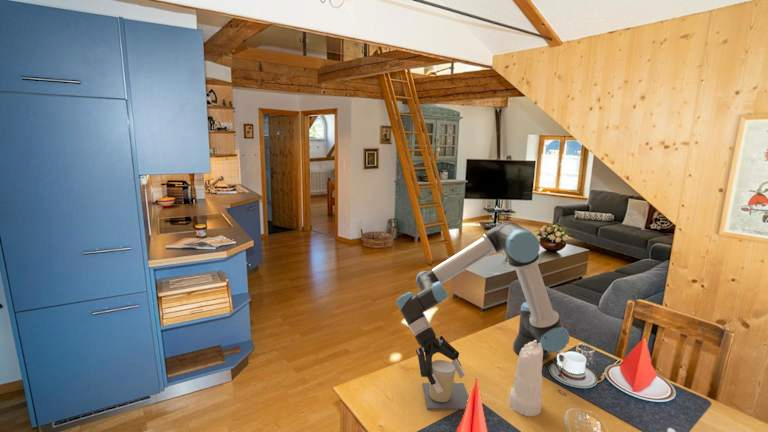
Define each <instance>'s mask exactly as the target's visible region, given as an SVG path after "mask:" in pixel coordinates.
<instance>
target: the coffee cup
mask: <svg viewBox="0 0 768 432" xmlns="http://www.w3.org/2000/svg"><path fill="white" fill-rule="evenodd" d="M433 373H434V374H435V376H436V378H437V380H438V382H439V384H440V385H441V387H442V389H443V391H442V392H440V393H438V394H437V392H436V390H435V388H434V386H433V385H431V383H430V382H429V383H430V397H431V398H432V399H433V400H435V401H437V402H447V401H449V400H450V397H451V392H452V387H453V383H454V382H455V381H454V380H455V374H456V373H457V371H456V369H455V366H454V365H453V364H452V361H448V360H445V359H435V360H432V374H433Z"/></svg>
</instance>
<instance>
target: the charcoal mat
mask: <svg viewBox="0 0 768 432" xmlns="http://www.w3.org/2000/svg"><path fill="white" fill-rule="evenodd" d="M422 389H423V395H424V400H425V405H426V410H431V411H432V410H435V411H436V410H439V411H441V410H443V411H444V410H445V411H446V410H451V411H452V410H453V411H454V410H455V411H457V410H458V411H459V410H460V411H461V410H465V407H466V404H467V400H468V398H469V395H468V393H467V389H466V386H465V384H464V382H453V387H452V392H451V397H450V400H449V401H447V402H437V401H435V400H433V399H432V398H431V397H430V382H422Z"/></svg>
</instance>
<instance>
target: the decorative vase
mask: <svg viewBox="0 0 768 432" xmlns="http://www.w3.org/2000/svg"><path fill="white" fill-rule="evenodd" d="M542 359H543V348H542V347H541V343H538V344H537V340H534V341H533V342H529V343H528V344H525V345H524V347H523V348H522V349H521V351H520V353H519V355H518V360H517V362H516V366H515V367H516V368H515V376H514V379H513V387H511V389H510V391H509V401H508V402H509V405H510V407H511V408H512V410H513V411H514V412H516V413H518V414H519V415H522V416H526V417H535V416H537V415H539V414H541V411H542V404H543V396H542V388H543V387H542V385H543V373H542V371H543V364H544V363H543V360H544V359H543V360H542Z"/></svg>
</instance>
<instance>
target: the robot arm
mask: <svg viewBox="0 0 768 432" xmlns="http://www.w3.org/2000/svg"><path fill="white" fill-rule="evenodd" d="M481 235H482V236H481V237H480V238H479V239H476V241H474V242H472V243H471V244H470V245H468V246H466V247H465V248H463V249H461V250H460V251H458V252H456V253H455V254H454V255H452V256H450V257H449V258H447V259H446V260H444V261H443V262H441V263H439V264H438V265H436V266H435V267H433V268H431V269H430V270H428V271H427V270H424V271H423V270H422V271H420V272H419V273H417V275H416V278H415V283H416V286H417V288H418V290H419V292H417V293H415V294H413V292H411V291H408V292H406V293H404V294H402V295H400V296H399V297H398V298H397V299H396V304H397V307H398V308H399V312H400V313H401V314H402V317H403V318H404V320H405V322H406V324H407V325H408V327H409V329H410V331H411V333H412V334H413V335H414V339H415V340H416V342H417V344H418V345H419V346H420V347H418V348H417V349H415V353H416V355H417V359H418V366H419V373H420V377H421V378H427V380H428V381H429V383H431V385H433V386H434V388H435V390H436V392H437V394H438V393H440V392H442V391H443V389H442V387H441V385H440V384H439V382H438V380H437V378H436V376H435V374H434V373H433V374H432V362H433V356H434V355H435V354H437V353H439V354H441V355H443V356H445V357H446V358H448V359H450V360H451V363H452V364H453V365H454V366H455V369H456V373H457V375H458V377H459V378H463V377H465V376H466V375H467V374H466V373H465V371H464V370H463V368H462V364H461V362H460V360H459V359H458V358H459V357H460V356H459V355H460V352H459V351H458V350H457V349H456V348H454V347H453V346H452V345H451V344H450V343H449V342H448V341H447V340H446V339H445V337H444V336H443V335H440V336H439V337H436V335H437V334H436V333H435V331H434V329H433V327H431V324H430V322H429V320H428V319H427V317H426V315H425V313H424V312H427V311H428V310H429V309H431V308H433V307H435V306H436V305H438V304H441V303H442V302H444V300H446V299H448V298H449V294H448V292H447V290H446V289H445V287H444V285H443V284H444V283H446V282H448V281H449V280H450V279H452V278H454V277H455V276H457V275H458V274H460V273H463V271H465V270H467V269H468V268H470V267H471V266H473V265H474V264H476V263H478V262H480V261H481V260H483V259H485V258H486V257H487V256H489V255H491V254H492V253H493V254H497V253H498V252H500V251H504V253H505V255H506V259H507V262H508V264H509V266H511V267H512V268H514V269H515V272H516V275H517V279H518V281H519V284H520V286H521V290H522V292H523V295H524V298H525V301H524V302H523V303H522V304H521V306H520V312H519V313H520V314H519V326H518V333H517V334H516V337H515V339H514V340H513V343H512V350H513V351H514V352H515V354H517V355H518V356H519V353H520V351H521V349H522V348H523V347H524V345H525V344H528V343H529V342H533V341H534V340H537V344H538V343H541V347H542V348H543V359H542V361H543V360H545V359H547V358H548V357H549V354H550V353H557V352H560V351H562V350H563V349H565V348H566V346H567V345H568V344H569V342H570V333H569V332H568V330H567V328H565V327H564V325H563V324H562V321H561V318H560V315H559V313H558V312H557V311H555V310H553V306H552V302H551V300H550V297H549V295H548V292H547V289H546V285H545V283H544V279H543V276H542V273H541V270H540V268H539V264H538V261H539V259H540V249H541V248H540V247H541V246H540V242H539V239H538V238H537V236H536V235H535V234H534V233H533V232H531V231H530V229H529V230H528V229H527V228H524V227H523V226H521V225H520V224H518V223H516V222H513V221H512V222H511V221H507V222H502V223H499V224H497V225H495V226H493V227H492V228H490V229H488V230H487V231H485V232H484V233H482V234H481Z"/></svg>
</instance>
